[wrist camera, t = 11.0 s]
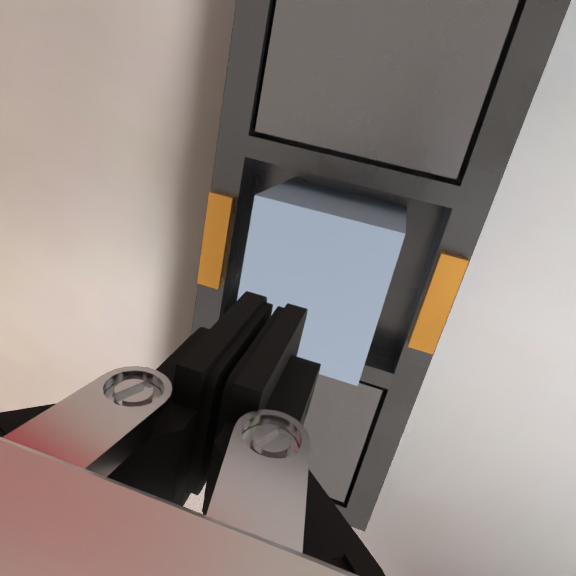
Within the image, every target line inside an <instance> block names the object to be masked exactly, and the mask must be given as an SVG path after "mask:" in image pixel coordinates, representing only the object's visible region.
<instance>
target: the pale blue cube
mask: <svg viewBox="0 0 576 576" xmlns="http://www.w3.org/2000/svg"><path fill="white" fill-rule="evenodd" d="M406 208H407V207H406V206H402V205H398V204H393V203H389V202H385V201H381V200H377V199H373V198H369V197H365V196H361V195H357V194H353V193H349V192H345V191H341V190H337V189H333V188H329V187H325V186H321V185H317V184H313V183H308V182H304V181H300V180H296V179H292V178H291V179H289V180H287V181H285V182H282V183H280V184H278V185H276V186H274V187H271V188H269V189H267V190H265V191H263V192H260V193H258V194H256V195H255V197H254V202H253V208H252V214H251V220H250V226H249V232H248V238H247V244H246V250H245V255H244V261H243V267H242V273H241V279H240V285H239V291H238V297H237V300H238V299H239V298H240V297H241V296H242V295H243V294H244V293H245V292H246V291H249V292H252V293H255V294H259V295H262V296H266V297H267V303H270V304H273V309H272V314H273V312H274V311H275V310H276V308H277V307H278V306H280V307H285V306H286V304H287V303H289V304H293V305H296V306H299V307H303V308H306V309H308V311H307V317H306V321H305V325H304V329H303V333H302V337H301V341H300V345H299V349H298V353H297V357H300V358H303V359H307V360H310V361H313V362H316V363H319V364H321V367H320V371H319V374H321V375H324V376H327V377H330V378H333V379H337V380H340V381H343V382H346V383H349V384H352V385H355V386H358V384H359V380H360V377H361V374H362V371H363V368H364V365H365V361H366V358H367V355H368V352H369V349H370V345H371V342H372V339H373V336H374V333H375V330H376V326H377V323H378V320H379V317H380V314H381V310H382V307H383V304H384V301H385V298H386V295H387V291H388V288H389V285H390V282H391V279H392V275H393V272H394V269H395V266H396V263H397V260H398V256H399V253H400V250H401V247H402V244H403V240H404V237H405V234H406ZM272 314H271V315H272Z"/></svg>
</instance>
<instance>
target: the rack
mask: <svg viewBox="0 0 576 576" xmlns="http://www.w3.org/2000/svg"><path fill="white" fill-rule="evenodd" d="M570 1H571V0H236V7H235V15H234V22H233V30H232V37H231V44H230V52H229V59H228V67H227V74H226V81H225V89H224V96H223V104H222V111H221V119H220V126H219V133H218V141H217V148H216V156H215V163H214V170H213V178H212V185H211V192H209V196H208V204H207V211H206V219H205V226H204V234H203V241H202V249H201V256H200V264H199V271H198V279H197V283H198V289H197V296H196V304H195V311H194V319H193V326H192V334H193V333H194V332H195V331H196V330H197V329H198V328H200V327H205V328H208V329H210V328H211V327H212V326H213V325H214V324H215V323H216V322H217V321H218V320H219V319H220V318H221V317H222V316H223V315H224V314H225V313H226V312H227V310H228V309H229V308H230V307H231V306H232V305H233V304H234V303H235V302H236V301H237V297H238V291H239V285H240V279H241V273H242V267H243V261H244V255H245V250H246V244H247V238H248V232H249V226H250V220H251V214H252V208H253V202H254V197H255V195H256V194H258V193H260V192H263V191H265V190H267V189H269V188H271V187H274V186H276V185H278V184H280V183H282V182H285V181H287V180H289V179H291V178H292V179H296V180H300V181H304V182H308V183H313V184H317V185H321V186H325V187H329V188H333V189H337V190H341V191H345V192H349V193H353V194H357V195H361V196H365V197H369V198H373V199H377V200H381V201H385V202H389V203H393V204H398V205H402V206H406V207H407V208H406V234H405V237H404V240H403V244H402V247H401V250H400V253H399V256H398V260H397V263H396V266H395V269H394V272H393V275H392V279H391V282H390V285H389V288H388V291H387V295H386V298H385V301H384V304H383V307H382V310H381V314H380V317H379V320H378V323H377V326H376V330H375V333H374V336H373V339H372V342H371V345H370V349H369V352H368V355H367V358H366V361H365V365H364V368H363V371H362V374H361V377H360V380H359V384H358V386H355V385H352V384H349V383H346V382H343V381H340V380H337V379H333V378H330V377H327V376H324V375H321V374H319V375H318V378H317V382H316V385H315V389H314V393H313V396H312V400H311V403H310V406H309V410H308V413H307V416H306V419H305V422H304V425H303V426H304V427H305V429H306V431H307V433H308V434H309V438H310V456H309V470H310V471H311V473H312V474H313V475H314V477H315V478H316V479H317V481H318V482H319V484H320V485H321V486H322V488H323V489H324V490H325V492H326V493H327V495H328V496H329V497H330V499H331V500H332V501H333V503H334V504H335V506H336V507H337V508H338V510H339V511H340V512H341V514H342V515H343V517H344V518H345V519H346V521H347V522H348V523H349V525H350V526H352V527H354V528H357V529H360V530H362V531H365V529H366V527H367V524H368V522H369V519H370V516H371V514H372V511H373V509H374V506H375V504H376V501H377V498H378V496H379V493H380V491H381V488H382V485H383V483H384V480H385V478H386V475H387V473H388V470H389V467H390V465H391V462H392V460H393V457H394V455H395V452H396V449H397V447H398V444H399V442H400V439H401V437H402V434H403V431H404V429H405V426H406V424H407V421H408V419H409V416H410V413H411V411H412V408H413V406H414V403H415V401H416V398H417V395H418V393H419V390H420V388H421V385H422V382H423V380H424V377H425V375H426V372H427V370H428V367H429V364H430V362H431V359H432V357H433V354H434V352H435V349H436V346H437V344H438V341H439V339H440V336H441V334H442V331H443V328H444V326H445V323H446V321H447V318H448V316H449V313H450V310H451V308H452V305H453V303H454V300H455V298H456V295H457V292H458V290H459V287H460V285H461V282H462V279H463V277H464V274H465V272H466V269H467V267H468V264H469V261H470V259H471V256H472V254H473V251H474V249H475V246H476V243H477V241H478V238H479V236H480V233H481V231H482V228H483V225H484V223H485V220H486V218H487V215H488V213H489V210H490V207H491V205H492V202H493V200H494V197H495V195H496V192H497V189H498V187H499V184H500V182H501V179H502V176H503V174H504V171H505V169H506V166H507V164H508V161H509V158H510V156H511V153H512V151H513V148H514V146H515V143H516V140H517V138H518V135H519V133H520V130H521V128H522V125H523V122H524V120H525V117H526V115H527V112H528V110H529V107H530V104H531V102H532V99H533V97H534V94H535V91H536V89H537V86H538V84H539V81H540V79H541V76H542V73H543V71H544V68H545V66H546V63H547V61H548V58H549V55H550V53H551V50H552V48H553V45H554V43H555V40H556V37H557V35H558V32H559V30H560V27H561V25H562V22H563V19H564V17H565V14H566V12H567V9H568V7H569V4H570ZM192 334H191V335H192Z"/></svg>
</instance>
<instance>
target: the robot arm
mask: <svg viewBox="0 0 576 576" xmlns="http://www.w3.org/2000/svg"><path fill="white" fill-rule="evenodd" d="M272 309H273V304H270V303H267V297H266V296H262V295H259V294H255V293H252V292H249V291H246V292H245V293H244V294H243V295H242V296H241V297H240V298H239V299H238V300H237V301H236V302H235V303H234V304H233V305H232V306H231V307H230V308H229V309H228V310H227V312H226V313H225V314H224V315H223V316H222V317H221V318H220V319H219V320H218V321H217V322H216V323H215V324H214V325H213V326H212V327H211V328H210V329H208V328H205V327H200V328H198V329H197V330H196V331H195V332H194V333H193V334H192V335H191V336H190V337H189V338H188V339H187V340H186V341H185V342H184V343H183V344H182V345H181V346H180V347H179V348H178V349H177V350H176V351H175V352H174V353H173V354H172V355H171V356H170V357H169V358H168V359H166V360H165V361H164V362H163V363H162V364H161V365H160V366H159V367H158V368H157V369H156V370H154V369H151V368H147V367H139V366H131V367H122V368H118V369H114V370H112V371H110V372H108V373H106V374H104V375H102V376H101V377H99V378H97V379H96V380H94V381H93V382H91V383H89V384H88V385H86V386H84V387H83V388H81V389H80V390H78V391H76V392H75V393H73V394H72V395H70V396H68V397H67V398H65V399H63V400H62V401H60V402H59V403H57V404H51V405H45V406H38V407H32V408H26V409H20V410H14V411H7V412H1V413H0V576H385V574H384V572H383V570H382V569H381V567H380V566H379V565H378V563H377V562H376V560H375V559H374V558H373V556H372V555H371V554H370V552H369V551H368V550H367V548H366V547H365V545H364V544H363V543H362V541H361V540H360V539H359V537H358V536H357V534H356V533H355V532H354V530H353V529H352V528H351V526H350V525H349V523H348V522H347V521H346V519H345V518H344V517H343V515H342V514H341V512H340V511H339V510H338V508H337V507H336V506H335V504H334V503H333V501H332V500H331V499H330V497H329V496H328V495H327V493H326V492H325V490H324V489H323V488H322V486H321V485H320V484H319V482H318V481H317V479H316V478H315V477H314V475H313V474H312V473H311V471H310V470H309V456H310V438H309V434H308V433H307V431H306V429H305V427H304V426H303V425H304V422H305V419H306V416H307V413H308V410H309V406H310V403H311V400H312V396H313V393H314V389H315V385H316V382H317V378H318V375H319V371H320V367H321V364H319V363H316V362H313V361H310V360H307V359H303V358H300V357H297V353H298V349H299V345H300V341H301V337H302V333H303V329H304V325H305V321H306V317H307V311H308V309H306V308H303V307H299V306H296V305H293V304H289V303H287V304H286V306H285V307H280V306H278V307H277V308H276V310H275V311H274V312H273V314H272ZM271 314H272V315H271ZM206 481H207V483H206ZM205 483H206V489H205V495H204V497H205V498H204V503H203V509H202V512H203V514H204V515H203V514H201V513H198V512H196V511H193V510H191V509H188V508H185V507H183V505H184V504H185V502H186V500H187V499H188V497H189V495H190V493H193V494H196V495H198V494H199V493H200V492H201V490H202V488H203V487H204V485H205Z"/></svg>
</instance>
